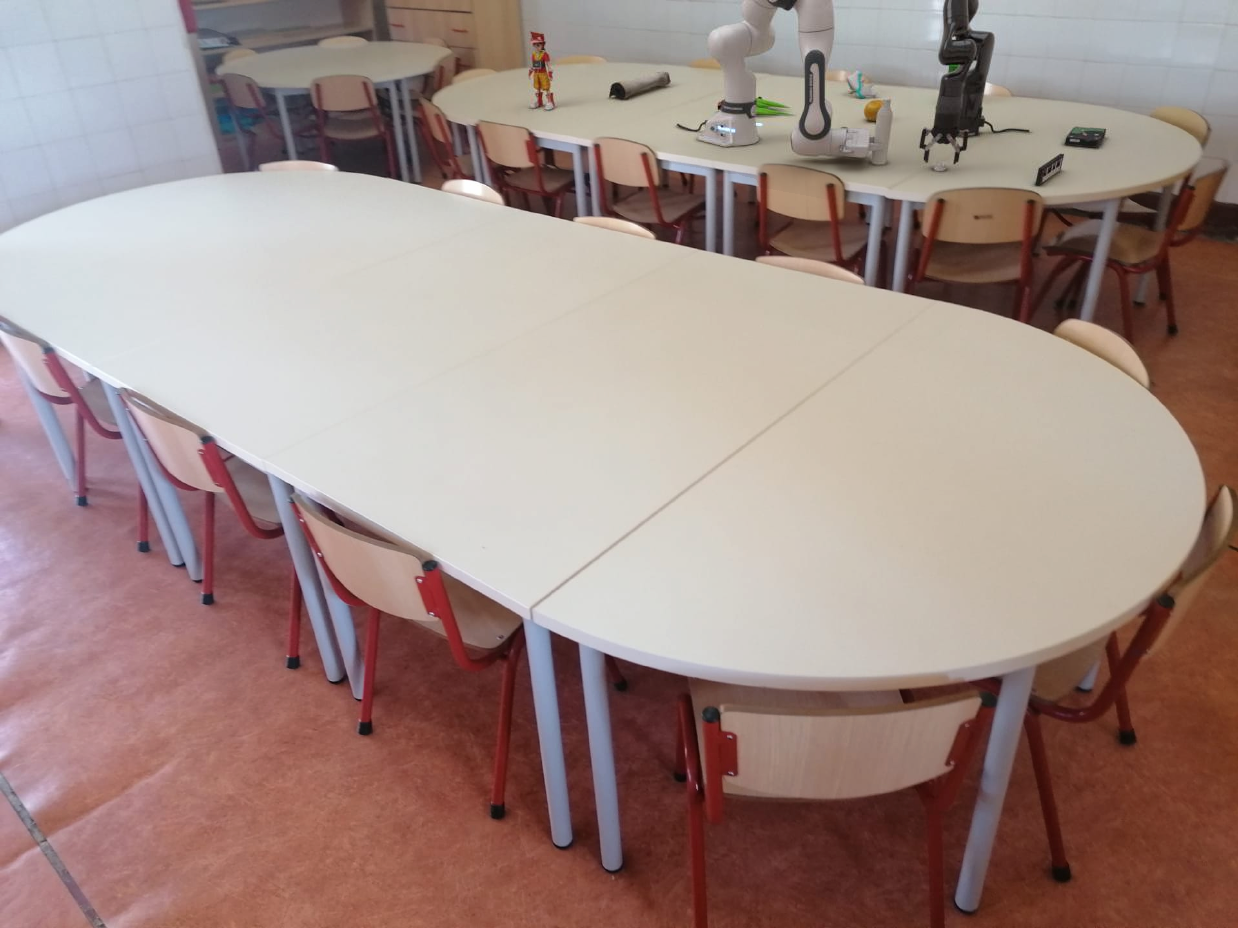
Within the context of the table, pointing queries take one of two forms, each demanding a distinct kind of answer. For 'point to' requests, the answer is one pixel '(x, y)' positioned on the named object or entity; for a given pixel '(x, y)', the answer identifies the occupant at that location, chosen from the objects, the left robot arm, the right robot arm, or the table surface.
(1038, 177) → the midi keyboard
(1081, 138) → the disk drive
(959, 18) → the right robot arm
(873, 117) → the fruit
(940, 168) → the cap
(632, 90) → the rolled mat
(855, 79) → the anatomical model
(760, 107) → the toy
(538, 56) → the toy
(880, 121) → the bottle
